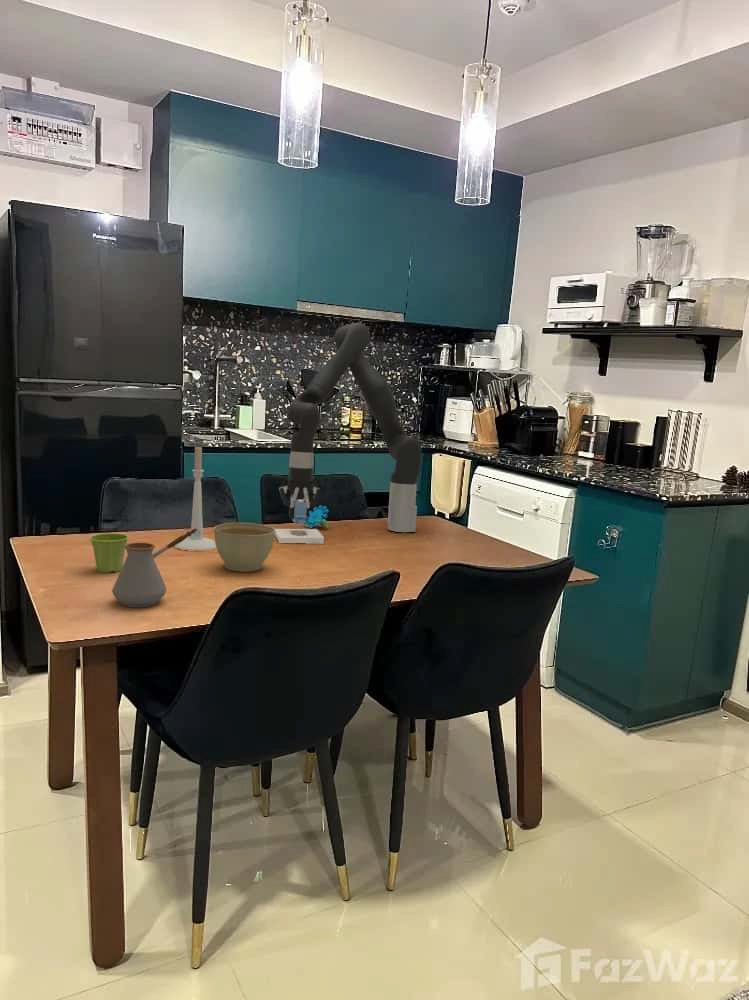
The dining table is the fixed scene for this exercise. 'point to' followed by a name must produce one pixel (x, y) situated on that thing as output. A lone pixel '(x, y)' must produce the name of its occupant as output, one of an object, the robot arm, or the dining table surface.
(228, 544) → the planter bowl
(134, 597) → the coffee pot
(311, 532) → the chassis board
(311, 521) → the blue coral
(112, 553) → the plant pot
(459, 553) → the dining table surface
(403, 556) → the dining table surface
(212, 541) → the candlestick
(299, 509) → the servo
